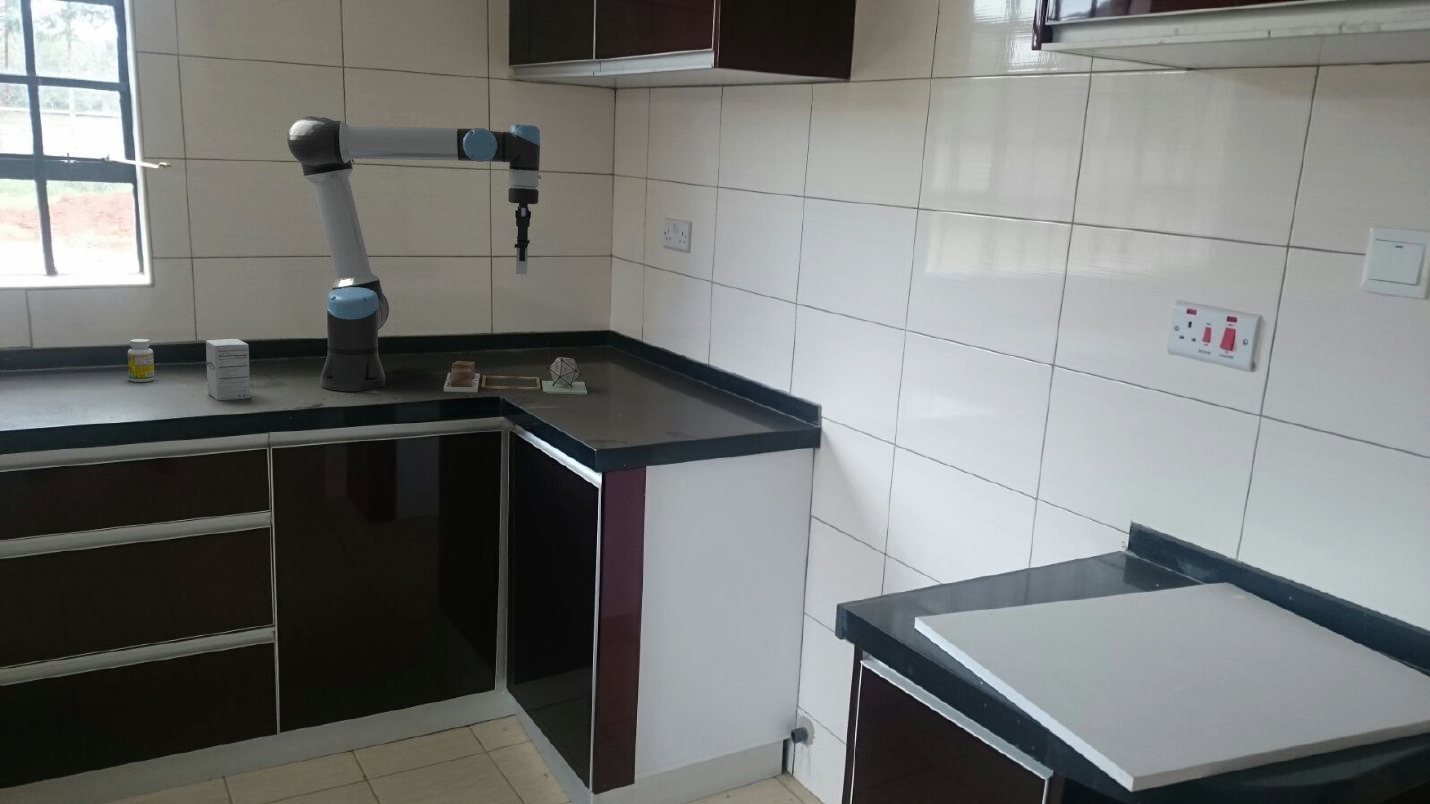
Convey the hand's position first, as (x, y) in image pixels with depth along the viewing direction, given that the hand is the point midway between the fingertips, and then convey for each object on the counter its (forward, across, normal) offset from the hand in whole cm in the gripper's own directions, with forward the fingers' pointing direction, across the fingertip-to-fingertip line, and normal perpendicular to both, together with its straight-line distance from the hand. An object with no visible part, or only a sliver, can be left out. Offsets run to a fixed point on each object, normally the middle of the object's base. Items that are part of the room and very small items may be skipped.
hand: (521, 271), depth 274 cm
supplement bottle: (+29, -12, +88) cm, 93 cm away
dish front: (+29, -14, +14) cm, 35 cm away
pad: (+29, -9, -12) cm, 32 cm away
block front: (+28, -14, +14) cm, 35 cm away
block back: (+28, -4, +14) cm, 32 cm away
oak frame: (+29, -7, +2) cm, 30 cm away
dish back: (+29, -4, +14) cm, 32 cm away
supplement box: (+29, -27, +65) cm, 76 cm away
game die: (+28, -9, -11) cm, 32 cm away
